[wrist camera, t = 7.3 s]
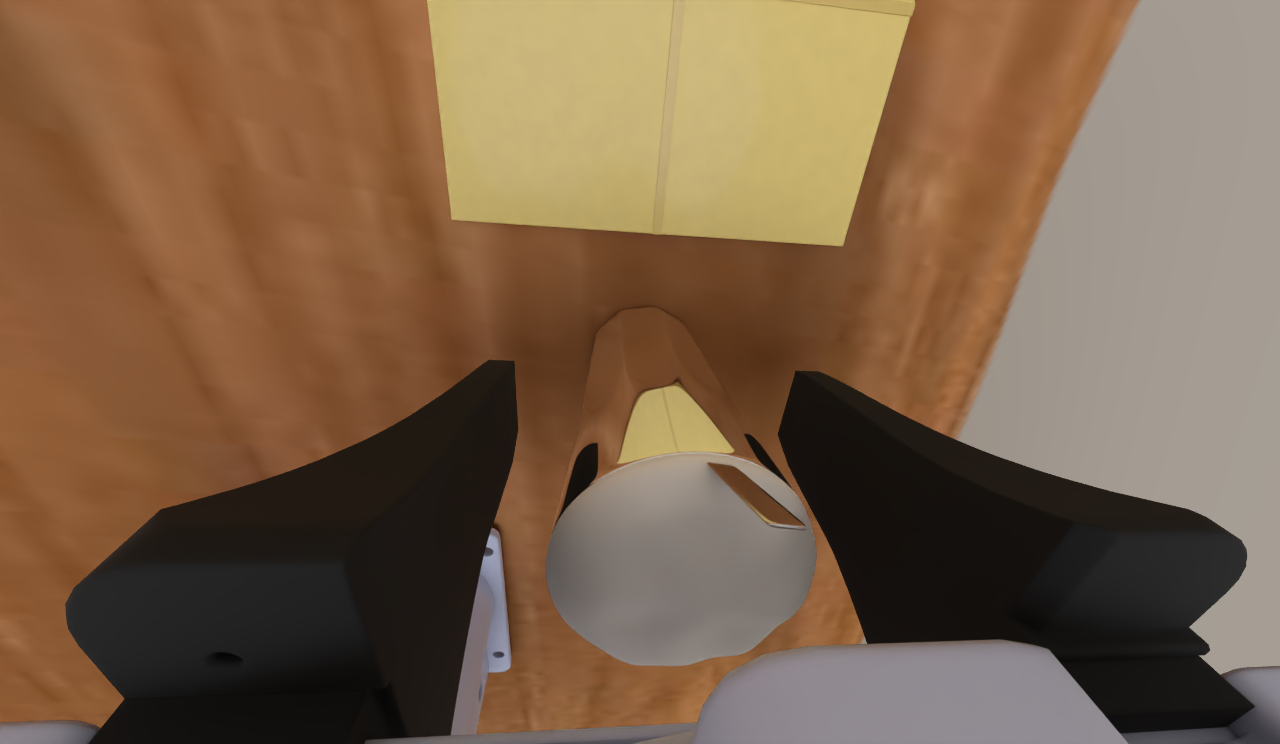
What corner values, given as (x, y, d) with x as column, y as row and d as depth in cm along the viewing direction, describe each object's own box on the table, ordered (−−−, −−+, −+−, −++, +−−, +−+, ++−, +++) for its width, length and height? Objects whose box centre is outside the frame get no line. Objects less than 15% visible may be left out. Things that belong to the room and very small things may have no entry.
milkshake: (738, 274, 14) (978, 547, 5) (689, 418, 16) (794, 767, 8) (588, 243, 13) (570, 503, 4) (561, 400, 15) (514, 766, 7)
